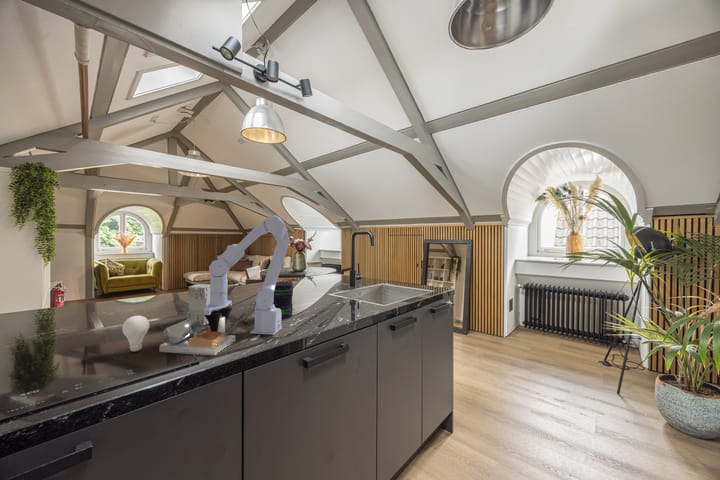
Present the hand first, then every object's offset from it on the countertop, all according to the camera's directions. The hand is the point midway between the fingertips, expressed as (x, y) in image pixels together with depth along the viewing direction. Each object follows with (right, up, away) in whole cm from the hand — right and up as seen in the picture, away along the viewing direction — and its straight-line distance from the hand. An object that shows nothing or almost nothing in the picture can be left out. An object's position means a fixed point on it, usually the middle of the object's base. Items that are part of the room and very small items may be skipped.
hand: (218, 329), depth 107 cm
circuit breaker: (-13, -1, +17) cm, 22 cm away
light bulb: (-17, -2, -17) cm, 24 cm away
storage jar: (+17, -2, +24) cm, 30 cm away
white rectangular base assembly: (0, -2, -12) cm, 12 cm away
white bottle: (0, -2, 0) cm, 2 cm away
